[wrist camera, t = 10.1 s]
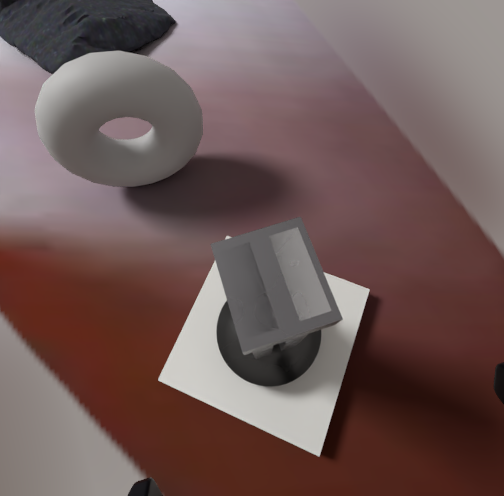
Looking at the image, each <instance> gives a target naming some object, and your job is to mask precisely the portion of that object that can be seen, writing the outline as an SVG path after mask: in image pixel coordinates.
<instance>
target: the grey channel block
mask: <svg viewBox="0 0 504 496" xmlns="http://www.w3.org/2000/svg"><path fill="white" fill-rule="evenodd" d="M211 247H212V250H213V254H214V257H215V261H216V264H217V268H218V271H219V274H220V278H221V281H222V285H223V288H224V291H225V295H226V298H227V301H226V302H225V304H224V305H223V307H222V309H221V312H220V314H219V317H218V322H217V330H216V334H217V343H218V347H219V350H220V353H221V355H222V357H223V359H224V361H225V362H226V364H227V365H228V367H229V368H230V369H231V370H232V371H233V372H234V373H235V374H236V375H238V376H239V377H240V378H242V379H243V380H245V381H247V382H250V383H252V384H255V385H259V386H269V387H273V386H280V385H284V384H287V383H290V382H292V381H294V380H296V379H297V378H299V377H300V376H301V375H303V374H304V373H305V372H306V371H307V370H308V369H309V368H310V366H311V365H312V363H313V362H314V360H315V358H316V356H317V354H318V351H319V348H320V344H321V329H324V328H327V327H330V326H333V325H336V324H337V323H339V322H340V321H341V320H343V318H342V316H341V313H340V311H339V308H338V306H337V304H336V301H335V299H334V296H333V294H332V291H331V289H330V287H329V284H328V282H327V279H326V277H325V275H324V272H323V270H322V267H321V265H320V263H319V260H318V258H317V255H316V253H315V251H314V248H313V246H312V243H311V241H310V239H309V236H308V234H307V231H306V229H305V226H304V224H303V222H302V219H301V217H298V218H295V219H291V220H288V221H285V222H281V223H278V224H275V225H272V226H268V227H265V228H262V229H258V230H255V231H252V232H249V233H245V234H242V235H239V236H235V237H232V238H229V239H226V240H222V241H219V242H216V243H212V244H211Z"/></svg>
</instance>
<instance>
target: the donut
mask: <svg viewBox="0 0 504 496" xmlns="http://www.w3.org/2000/svg"><path fill="white" fill-rule="evenodd" d="M35 117H36V124H37V131H38V134H39V138H40V139H41V141H42V142H43V144H44V146H45V147H46V149H47V150H48V152H49V153H50V155H51V156H52V157H53V158H54V160H55V161H57V162H58V163H59V164H61V165H62V166H63V167H64V168H66V169H67V170H68V171H70V172H71V173H73V174H75V175H77V176H80V177H82V178H84V179H87V180H89V181H91V182H94V183H98V184H103V185H108V186H113V187H134V186H140V185H146V184H152V183H154V182H157V181H160V180H162V179H165V178H168V177H169V176H171V175H172V174H174V173H175V172H177V171H178V170H180V169H181V168H183V167H184V166H185V165H186V164H187V163H188V161H189V160H190V159H191V158H192V157H193V156H194V155H195V153H196V151H197V148H198V146H199V143H200V140H201V138H202V135H203V119H202V110H201V107H200V105H199V103H198V101H197V99H196V97H195V94H194V92H193V91H192V89H191V87H190V86H189V85H188V84H187V83H186V82H185V81H184V80H183V79H182V78H181V77H180V76H179V75H178V74H177V73H176V72H175V71H174V70H172V69H171V68H169V67H167V66H165V65H163V64H161V63H159V62H157V61H155V60H153V59H151V58H149V57H148V56H144V55H139V54H134V53H129V52H123V51H107V52H96V53H89V54H86V55H84V56H81V57H79V58H77V59H74V60H72V61H69V62H67V63H65V64H63V65H62V66H61V67H60V68H59V69H58V70H57V71H56V72H55V73H54V74H53V75H52V76H51V77H50V78H49V79H48V80H47V81H46V82H45V83H43V86H42V89H41V92H40V94H39V97H38V100H37V103H36V106H35ZM122 117H134V118H140V119H142V120H145V121H148V122H149V123H151V124H152V129H151V130H150V131H149V132H148V133H146V134H145V135H144V136H141V137H139V138H136V139H129V140H121V139H114V138H111V137H108V136H106V135H104V134H103V133H101V132H100V131H99V128H100V127H101V126H102V125H103V124H105V123H106V122H108V121H110V120H113V119H115V118H122Z"/></svg>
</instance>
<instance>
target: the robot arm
mask: <svg viewBox="0 0 504 496" xmlns="http://www.w3.org/2000/svg"><path fill="white" fill-rule="evenodd" d="M494 390H495V393H496V394H497V396H498V398H499V399H500V400H501V401H502V403H503V404H504V362H503V363H500V364H498V365H497V366H496V368H495V377H494ZM128 496H163V495H162V493H161V491H160V490H159V488H158V486H157V484H156V483H155V481H154V479H153V478H147V479H144V480H141V481H138V482H136V483H135V484H134V485H133V486H132V488H131V490H130V492H129V494H128Z"/></svg>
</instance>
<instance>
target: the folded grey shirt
mask: <svg viewBox="0 0 504 496" xmlns="http://www.w3.org/2000/svg"><path fill="white" fill-rule="evenodd" d="M174 23H175V20H174V19H173V18H172V17H171V16H170V15H169V14H168V13H167V12H166V11H165V10H164V9H162V8H161V7H159V6H158V5H156V4H154V3H153V1H152V0H0V36H1V37H2V38H3V39H4V40H5V41H6V42H7V43H9V44H10V45H12V46H14V47H17V48H18V49H19V50H20V51H21V52H22V53H24V54H26V55H28V56H29V57H31V58H32V59H33V60H35V61H37V63H38V64H39V66H41V67H42V68H43V69H44V70H46V71H48V72H50V73H52V74H54V73H55V72H56V71H57V70H58V69H59V68H60V67H61V66H62V65H63V64H65V63H67V62H69V61H72V60H74V59H77V58H79V57H81V56H84V55H86V54H89V53H96V52H107V51H123V52H127V51H132V50H135V49H137V48H139V47H141V46H143V45H144V44H146V43H148V42H150V41H152V40H154V39H157V38H159V37H161V36H162V34H163V33H164V32H166V31H167V30H168V29H169V26H170V25H171V24H174Z"/></svg>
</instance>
